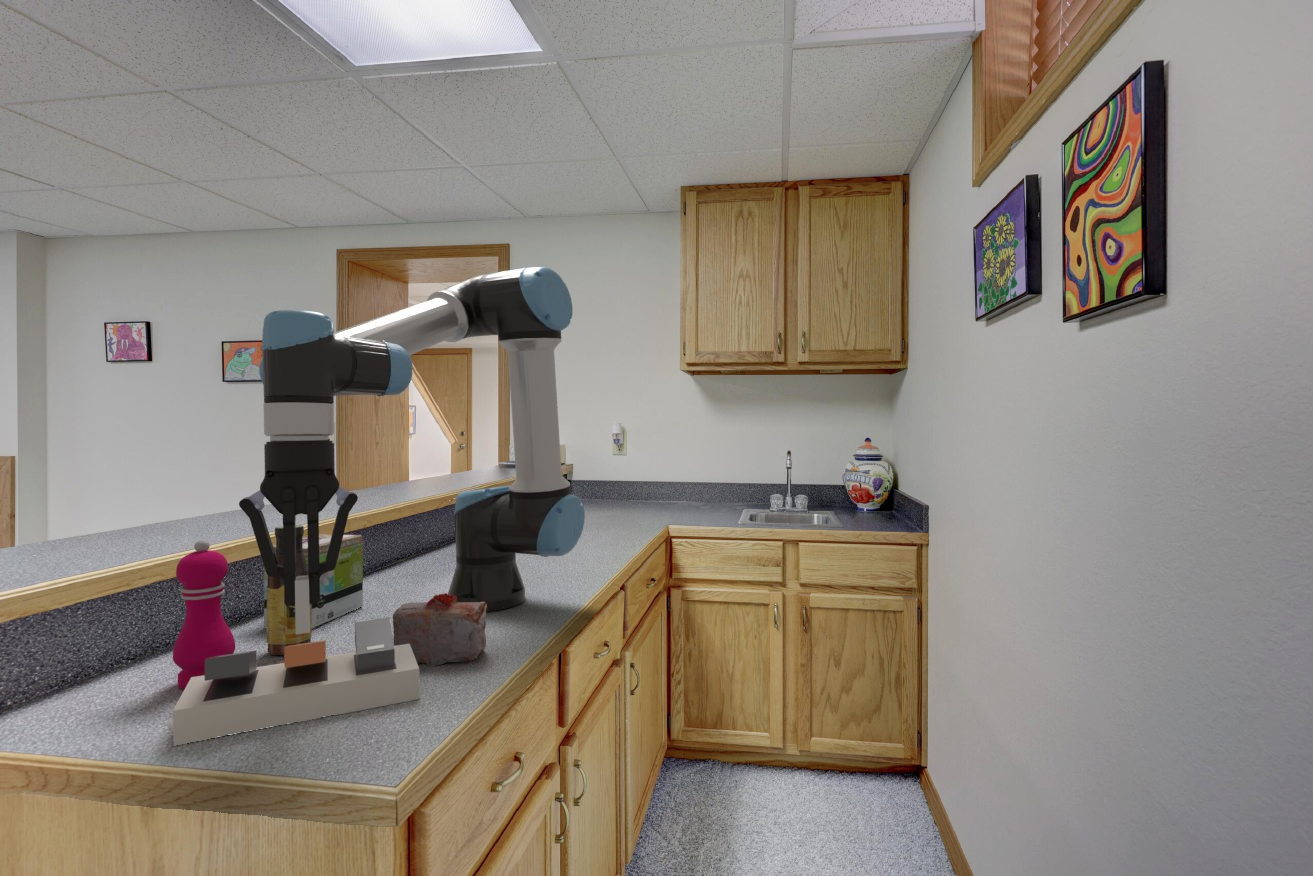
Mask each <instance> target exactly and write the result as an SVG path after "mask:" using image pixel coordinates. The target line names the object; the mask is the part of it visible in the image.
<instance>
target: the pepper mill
mask: <svg viewBox="0 0 1313 876" xmlns="http://www.w3.org/2000/svg"><path fill="white" fill-rule="evenodd" d="M210 546H211V545H210V542H209V541H208V540H206V539H199V540H197V541H196V542H195V543H194V546H193V548H194V550H195V551H194V552H190V553H188V554H185V556H183V557H182V558H181V559H179V561H178V563H177V565H176V570H175V575H176V576H175V577H176V578H177V580H178V581H179V582H180V583H181V584H182V586H183V587H182V588H181V589H180V592H181V596H180V598H181V599H182V600H184V604H185V618H184V622H183V625H182V627H181V630H180V632H179V634H178V636H177V639H176V641H175V644H174V646H173V650H172V661H173V663H174V664H175V666H177V667H179V669H180V670H179V672H178V673H177V687H178V688H179V689H180V690H183V691H184V690H185V688H186V686H187V684H188V682H189V681H190V679H191V677H197V676H203V675H205V659H207V658H211V657H215V656H221V655H227V654H234V653H235V650H236V641H235V637H234V634H233V633H232V631H231V629H230V627H229V626H228V624H227V623H226V621H225V619H224V617H223V614H222V605H221V604H222V603H221V601H222V595H223V594H225V592H226V591H225V588H224V587H225V583H224V582H222V581H223V579H224V578H226V576H227V574H228V572H229V563H228V560H227V558H226V557H225V556H224V554H222V553H221V552H219V551H215V550H209V549H210Z"/></svg>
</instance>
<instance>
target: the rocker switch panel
mask: <svg viewBox="0 0 1313 876" xmlns="http://www.w3.org/2000/svg"><path fill="white" fill-rule="evenodd" d="M394 648H395V665H392V666H386V667H380V668H374V669H368V670H362V671H357V659H356V651H353V652H347V653H339V654H335V655H326V661H325V662H321V663H314V664H308V665H302V666H295V667H289V668H284V662H282V663H276V664H275V663H274V664H268V665H261V666H256V670H255V671H253V672H251V673H250V674H245V675H238V676H232V677H226V678H219V679H213V680H207V681H205V675H203V676H197V677H191V679H190V681H189V682H188V684H187V686H186V688H185V690H183V692H182V693H181V695H180V697H179V699H178V701H177V702H176V705H175V706H174V708H173V709H172V730H173V731H172V732H173V734H172V735H173V739H172V740H173V747H177V746H176V745H178V746H183V745H187V743H189V744H191V743H190V742H194V743H197V742H196V741H199V742H203V741H202V740H204V741H206V740H205V739H209V740H211V739H210V738H215V737H217V736H224V735H228V734H234V733H238V732H244V731H250V730H256V729H260V728H266V727H270V726H277V725H282V724H287V723H292V722H298V723H301V721H303V722H307V720H308V721H311V720H312V719H313V720H316V719H315V718H318V719H321V718H320V717H323V716H329V717H332V716H331V715H334V716H337V715H338V714H339V715H343V714H348V713H354V712H358V711H365V710H370V709H375V708H380V707H384V706H390V705H394V704H401V703H406V702H411V701H417V700H421V697H420V695H421V694H420V693H421V691H420V690H421V689H420V688H421V687H420V685H421V683H420V666H419V665H418V664H419V663H417V661H416V659H415V656H414V654H413V651H412V648H411V646H410V644H404V645H397V646H394ZM313 720H312V721H313ZM287 725H288V724H287ZM282 726H283V725H282ZM277 727H278V726H277ZM256 731H257V730H256ZM215 739H216V738H215ZM182 744H183V745H182Z"/></svg>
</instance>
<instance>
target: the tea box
mask: <svg viewBox="0 0 1313 876" xmlns="http://www.w3.org/2000/svg"><path fill="white" fill-rule="evenodd" d="M331 536H332V533H331V534H330V533H329V534H328V533H326V534H325V533H324V534H322V533H321V534H320V533H319V559H320V562H323V561H325V560H326V556H327V552H328V548H329V544H330V540H331ZM363 541H364V540H363V535H361V534H360V535H359V534H358V535H357V534H344V535H343V539H342V543H341V547H340V551H339V555H338V559H337V563H336V567H335V569H334V570H332V571H328V572H326V573H324V574H322V575H321V577H320V600H319V602H318V603H312V607H311V619H312V630H313V629H315V628H316V627H318V626H320V625H322V624H325V623H327V622H329V621H332V620H333V619H336V618H337V619H338V618H339V617H341V616H345V615H346V613H347V614H349V613H351V611H352V612H354V611H356V610H355V609H357V608H360V607H363V605H364V604H363V602H364V586H363V584H364V583H363V581H364V580H363V579H364V577H363V576H364V574H363V569H364V568H363V567H364V559H363V554H364V553H363V551H364V550H363V549H364V546H363V545H364V543H363ZM272 545H273V548H274V551H275V554H276V543H275V544H272ZM303 554H304V557H305V560H306V562H307V565H308V536H307V537H303ZM263 574H264V575H263V601H264V603H263V605H264V608H263V626H264V628H267V586H268V575H267V574H266V570H265V567H264V566H263ZM360 609H361V608H360ZM353 610H354V611H353ZM357 610H358V609H357ZM348 612H349V613H348Z"/></svg>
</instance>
